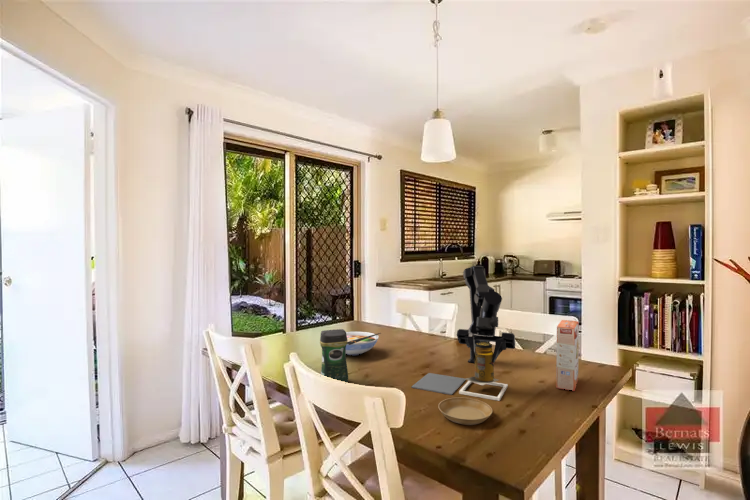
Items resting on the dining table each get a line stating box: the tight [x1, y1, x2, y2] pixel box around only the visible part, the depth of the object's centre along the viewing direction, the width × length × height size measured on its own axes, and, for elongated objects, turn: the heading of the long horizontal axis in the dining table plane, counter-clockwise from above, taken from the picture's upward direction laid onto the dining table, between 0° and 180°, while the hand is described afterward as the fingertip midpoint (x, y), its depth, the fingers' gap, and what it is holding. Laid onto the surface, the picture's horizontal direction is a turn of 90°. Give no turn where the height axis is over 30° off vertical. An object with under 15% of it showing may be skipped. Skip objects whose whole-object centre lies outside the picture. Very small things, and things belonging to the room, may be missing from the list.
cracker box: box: [555, 319, 580, 392], centre depth 133 cm, size 14×6×21 cm, turn 148°
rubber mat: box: [411, 372, 467, 396], centre depth 134 cm, size 16×14×1 cm
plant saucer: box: [437, 396, 493, 426], centre depth 109 cm, size 15×15×3 cm
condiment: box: [465, 342, 500, 386], centre depth 128 cm, size 7×8×12 cm
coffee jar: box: [319, 328, 349, 383], centre depth 136 cm, size 10×8×19 cm
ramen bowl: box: [346, 331, 382, 356], centre depth 174 cm, size 25×23×8 cm
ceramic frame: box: [458, 380, 508, 402], centre depth 128 cm, size 14×13×1 cm
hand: (483, 361), depth 127 cm, fingers closed on condiment, 6 cm apart
